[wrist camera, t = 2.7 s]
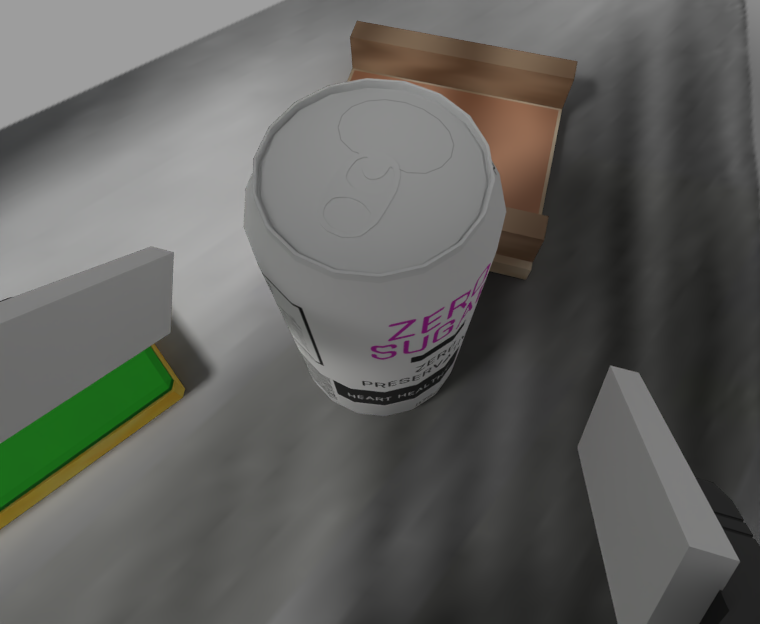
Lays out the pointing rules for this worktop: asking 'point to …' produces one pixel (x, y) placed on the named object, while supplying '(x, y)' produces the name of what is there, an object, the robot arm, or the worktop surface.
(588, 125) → the worktop surface
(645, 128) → the worktop surface
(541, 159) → the groove board
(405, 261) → the supplement can
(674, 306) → the worktop surface
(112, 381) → the dish sponge
